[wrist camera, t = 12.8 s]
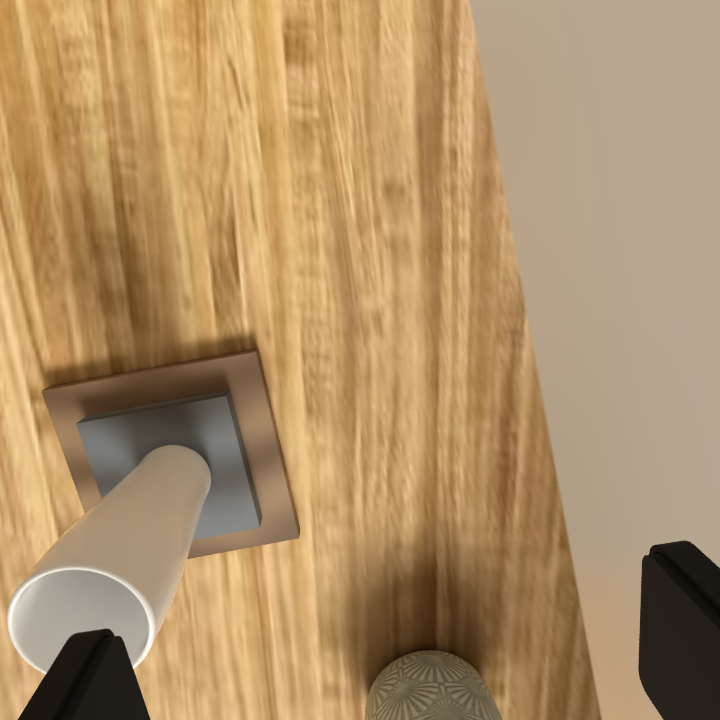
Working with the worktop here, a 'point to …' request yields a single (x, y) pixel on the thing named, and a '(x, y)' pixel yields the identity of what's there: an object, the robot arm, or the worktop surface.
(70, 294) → the worktop surface
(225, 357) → the base
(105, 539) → the drinking glass
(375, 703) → the planter
